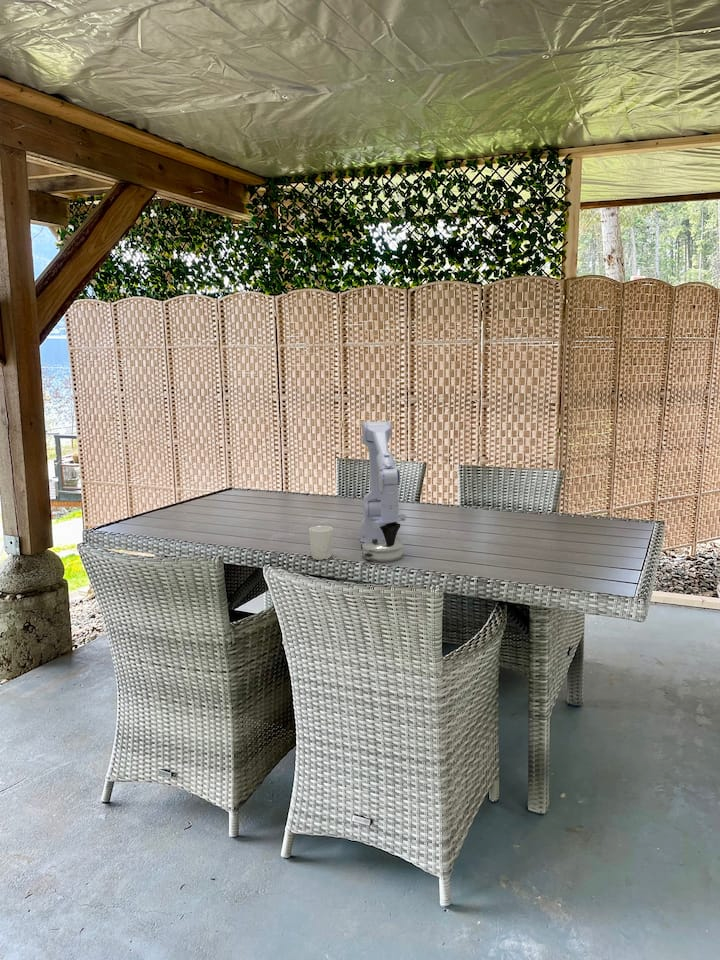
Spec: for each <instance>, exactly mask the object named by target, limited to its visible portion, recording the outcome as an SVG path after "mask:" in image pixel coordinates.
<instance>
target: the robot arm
mask: <svg viewBox="0 0 720 960" xmlns="http://www.w3.org/2000/svg"><path fill="white" fill-rule="evenodd" d="M392 431H393V430H392V424H391V422H390V421H389V420H386V421H363V422H362V425H361V438H362V444H363V445H365V446H367V450H368V461H369V463H368V464H369V482H370V490H369V491H368V493H366V494H365V495H364V496H363V499H362V501H363V502H362V503H363V504H362V513H363V514H362V515H363V516H364V517H363V519H362V520H361V524H360V528H361V529H360V540H359V542H360V541H361V543H365V542H369V541H372V539H377V540H383V539H385V540H386V544H387V545H389V546H392V545H394V542H395V540H396V537H397V534H398V531H399V529H400V528H401V523H399V522H405V521H406V519H407V518H406V515H407V514H401V513H400V514H399V486H400V484H401V474H400V469H399V467H398V466H397V465H396V462H395V459H394V455H393V453H392V452H390V451H389V444H388V443H389V440H390V439H391V437H392Z"/></svg>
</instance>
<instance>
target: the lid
mask: <svg viewBox="0 0 720 960" xmlns="http://www.w3.org/2000/svg"><path fill="white" fill-rule="evenodd" d="M361 544H362V548H363V549H364V550H366V551H373V552H384V551H392V550H397V549H400V548H402V549H403V547H404V545H403V544H404V543H403V541H401V540H399V539H398V540H397V539H395V542H394V545H392V546H389V545H387V544H386V540H385V539H383V540H377V539H372V541H369V542H362V543H361ZM363 549H362V550H363Z"/></svg>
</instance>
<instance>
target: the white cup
mask: <svg viewBox="0 0 720 960" xmlns="http://www.w3.org/2000/svg"><path fill="white" fill-rule="evenodd" d="M308 530H309V531H308V532H309V543H310V550H311V558H312V559H313V560H318V561H323V559H326V560H328V559H327V558H329V557H331V556H333V539H334V538H333V534H334V533H333V532H334V529H333V527H332V526H330V525H329V526H328V525H316V526H312V527H309V528H308ZM331 558H332V557H331ZM329 559H330V558H329Z"/></svg>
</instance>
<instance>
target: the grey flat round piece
mask: <svg viewBox="0 0 720 960" xmlns="http://www.w3.org/2000/svg"><path fill="white" fill-rule="evenodd" d="M362 544H363V543H361V544H360V550H363V552H362V553H363V559H364V558H365V559H367V560H366V561H368V560H370V561H369V562H372V561H376V562H375V563H388V562H387V561H392V562H396V561H395V560H397V561H400V560H401V559H402V558H403V547H402V548H400V549H397V550H392V551H384V552H373V551H366V550H364V549H363V548H362ZM365 559H364V560H365Z"/></svg>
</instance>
